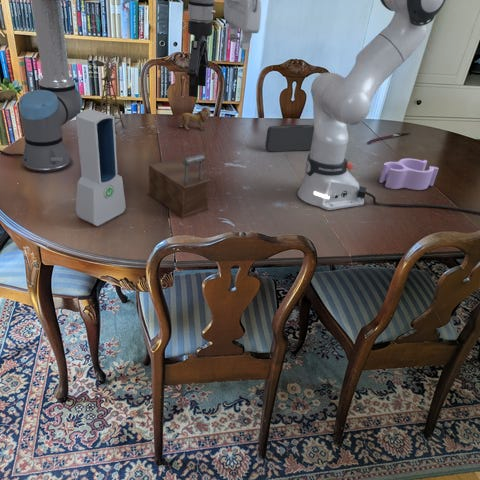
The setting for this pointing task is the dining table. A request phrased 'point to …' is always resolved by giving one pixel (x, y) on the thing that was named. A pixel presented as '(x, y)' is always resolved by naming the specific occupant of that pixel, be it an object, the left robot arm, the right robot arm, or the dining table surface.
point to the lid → (182, 172)
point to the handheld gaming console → (289, 137)
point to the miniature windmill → (108, 78)
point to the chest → (178, 195)
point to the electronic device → (98, 169)
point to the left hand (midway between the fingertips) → (197, 91)
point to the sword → (386, 137)
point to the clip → (408, 174)
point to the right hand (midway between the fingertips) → (238, 45)
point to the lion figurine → (195, 118)
